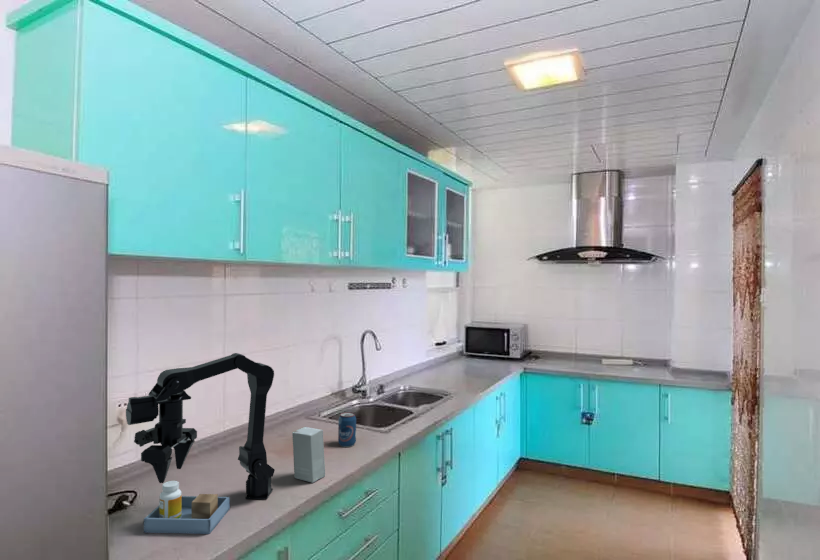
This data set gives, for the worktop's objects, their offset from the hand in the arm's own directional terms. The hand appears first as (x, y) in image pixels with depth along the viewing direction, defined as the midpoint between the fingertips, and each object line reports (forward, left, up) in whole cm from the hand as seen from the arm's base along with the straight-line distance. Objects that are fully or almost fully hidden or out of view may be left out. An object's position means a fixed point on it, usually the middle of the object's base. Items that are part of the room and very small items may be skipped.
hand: (170, 475), depth 132 cm
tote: (-5, -1, -12) cm, 13 cm away
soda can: (-39, -62, -13) cm, 74 cm away
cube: (-8, -2, -12) cm, 15 cm away
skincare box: (-31, -30, -13) cm, 45 cm away
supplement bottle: (0, 0, -12) cm, 12 cm away
